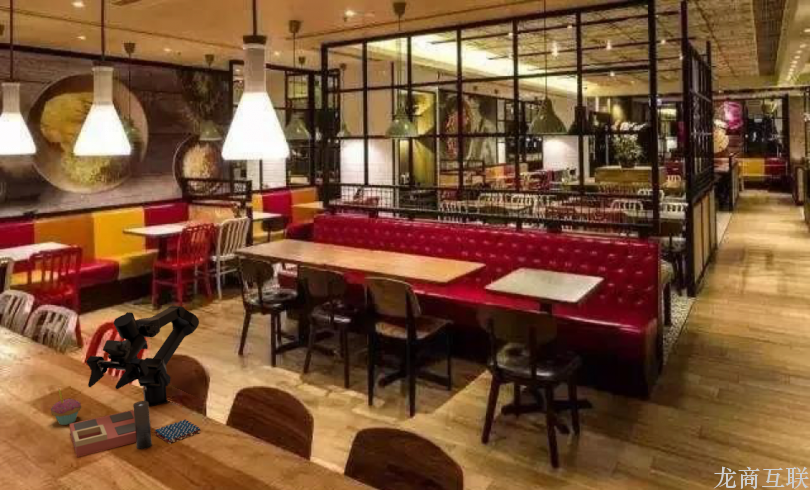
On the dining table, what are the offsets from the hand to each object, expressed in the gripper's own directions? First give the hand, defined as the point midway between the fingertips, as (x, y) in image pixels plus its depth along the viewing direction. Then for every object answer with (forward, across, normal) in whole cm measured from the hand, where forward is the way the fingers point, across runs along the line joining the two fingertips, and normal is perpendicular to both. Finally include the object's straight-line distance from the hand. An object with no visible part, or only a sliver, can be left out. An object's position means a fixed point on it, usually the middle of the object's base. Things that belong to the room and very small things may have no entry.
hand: (102, 387), depth 182 cm
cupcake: (+2, -19, +17) cm, 25 cm away
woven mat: (+3, +20, +16) cm, 26 cm away
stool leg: (+11, +16, +12) cm, 22 cm away
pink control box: (+8, +1, +13) cm, 15 cm away
